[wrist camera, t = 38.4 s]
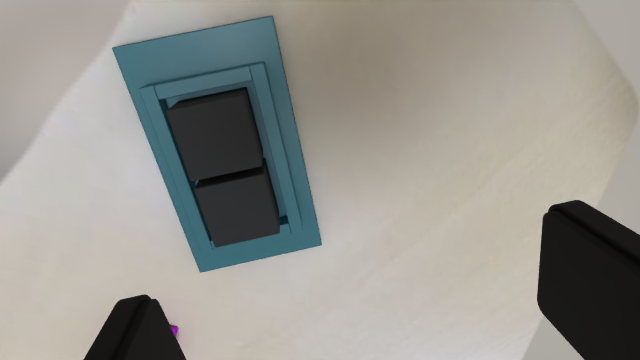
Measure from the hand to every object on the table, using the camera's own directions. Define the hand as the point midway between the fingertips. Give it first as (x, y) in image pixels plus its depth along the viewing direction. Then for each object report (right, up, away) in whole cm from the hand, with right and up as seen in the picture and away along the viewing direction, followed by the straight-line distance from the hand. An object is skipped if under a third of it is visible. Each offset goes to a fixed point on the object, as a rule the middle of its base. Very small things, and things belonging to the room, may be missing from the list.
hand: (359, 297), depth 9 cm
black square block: (-7, +2, +21) cm, 22 cm away
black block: (-8, +7, +19) cm, 22 cm away
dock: (-8, +5, +21) cm, 23 cm away
